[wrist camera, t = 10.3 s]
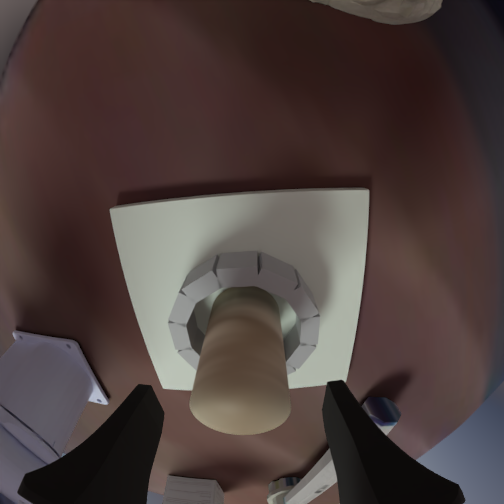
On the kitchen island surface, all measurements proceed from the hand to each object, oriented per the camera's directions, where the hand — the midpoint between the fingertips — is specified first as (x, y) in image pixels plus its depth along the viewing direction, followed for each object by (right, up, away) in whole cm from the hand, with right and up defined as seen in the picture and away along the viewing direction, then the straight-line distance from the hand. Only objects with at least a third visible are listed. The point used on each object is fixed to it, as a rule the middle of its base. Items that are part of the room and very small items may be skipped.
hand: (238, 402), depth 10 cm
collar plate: (0, +3, +7) cm, 7 cm away
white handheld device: (+8, -18, +15) cm, 25 cm away
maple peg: (0, +2, +6) cm, 7 cm away
